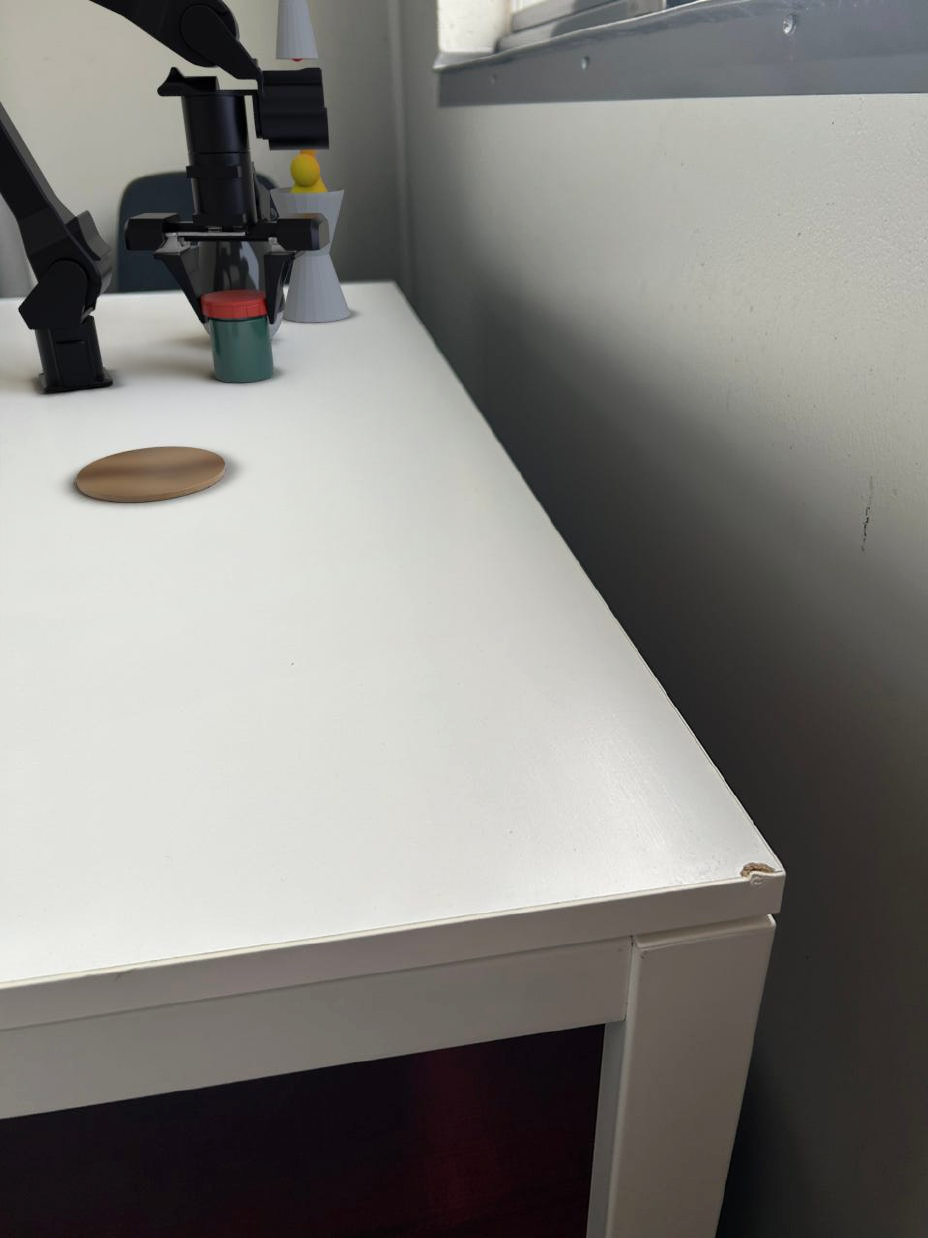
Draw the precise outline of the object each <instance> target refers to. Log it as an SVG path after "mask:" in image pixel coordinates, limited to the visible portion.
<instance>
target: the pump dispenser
mask: <svg viewBox="0 0 928 1238" xmlns="http://www.w3.org/2000/svg"><path fill="white" fill-rule="evenodd" d="M275 219H277V212H276V210H275V209H274V208H272V207H270V222H272V221H273V220H275ZM210 228H221V226H208V229H210ZM234 228H243V227H242V226H234ZM209 231H210V230H209ZM247 233H248V232H247ZM197 246H199V269H200V274H201V279H202V284H203V289H204V294H205V295H206V294H209V293H213V292H219V291H227V290H258V291H264V292H266V290H265V275H264V259H263V255H264V254H266V253H268V252H269V251H271V246H269V242H197ZM285 303H286V296H285V292H284V290H283V292H282V296H281V301H280V305H279V310H278V314H277V319H276V322H275V323H274V324H270V334H271V339H272V338H273V337H274V336H275V335H276V334H277V332H278V331H279V329H280V327H281V325H282V321H283V313H284V310H285V308H286V305H285ZM202 327H203V328H204V331H206V333H207V334H208V335H209V336H210V333H209V325H208V322H207V323H206V324H202Z"/></svg>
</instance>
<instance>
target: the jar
mask: <svg viewBox="0 0 928 1238" xmlns="http://www.w3.org/2000/svg"><path fill="white" fill-rule="evenodd" d="M208 325H209V333H210V335H209V340H210V348H211V356H212V363H213V371H214V377H215V379H216V380H218V381H220V382H224V383H233V384H235V383H236V384H240V383H241V384H243V383H254V382H261V381H263V380H264V381H265V380H267V379H270V378H272V377H273V376H274V375H275V366H274V355H273V345H272V338H271V334H270V324H269V319H268V314H267V313H266V314H263V315H259V316H254V317H246V318H214V317H209V316H208Z"/></svg>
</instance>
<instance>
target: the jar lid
mask: <svg viewBox="0 0 928 1238" xmlns="http://www.w3.org/2000/svg"><path fill="white" fill-rule="evenodd" d="M201 305H202V311H203V314H204V315H206V316H209V317H214V318H246V317H254V316H259V315H263V314H266V313H267V306H266V292H264V291H258V290H227V291H219V292H213V293H209V294H206V295H203V296H202V297H201Z"/></svg>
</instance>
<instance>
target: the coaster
mask: <svg viewBox="0 0 928 1238" xmlns="http://www.w3.org/2000/svg"><path fill="white" fill-rule="evenodd" d="M226 471H227V465H226V461H225V459H224V458H223V457H222V456H221V455H219V454H218V453H216V452H214V451H210V450H207V449H205V448H204V449H203V448H198V447H191V446H174V445H172V446H169V445H168V446H167V445H166V446H152V447H143V448H135V449H130V450H126V451H121V452H116V453H113V454H110V455H106V456H104V457H101V458H98V459H97V460H94V461H92V462H90V463H89V464H86V466H84V467H83V468H81V469H80V471H78V473H77V474H76V477H75V479H76V484H77V488H78V489H79V491H80V492H81V493H82V494H85V495H86V496H88V497H91V498H94V499H98V500H102V501H106V502H107V501H108V502H117V503H144V502H145V503H146V502H156V501H163V500H170V499H174V498H179V497H183V496H188V495H191V494H194V493H197V492H200V491H203V490H205V489H207V488H210V487H211V486H213V485H215V484H217V483H218V482H219V481H221V480H222V478H224V476H225V475H226Z"/></svg>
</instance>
